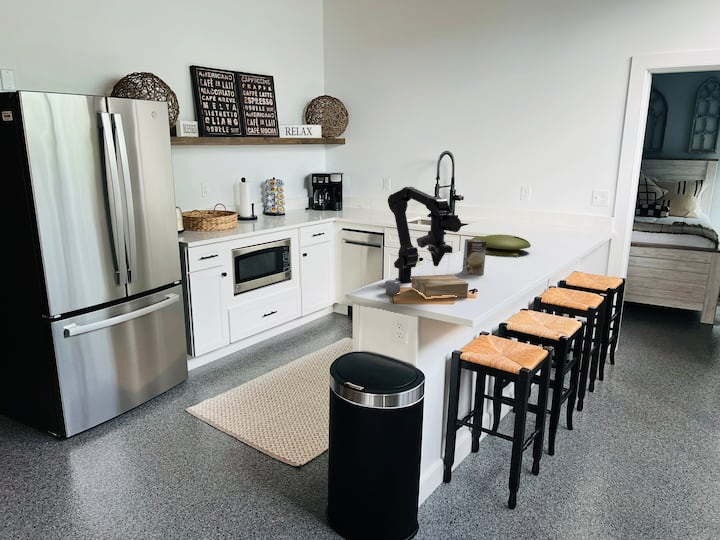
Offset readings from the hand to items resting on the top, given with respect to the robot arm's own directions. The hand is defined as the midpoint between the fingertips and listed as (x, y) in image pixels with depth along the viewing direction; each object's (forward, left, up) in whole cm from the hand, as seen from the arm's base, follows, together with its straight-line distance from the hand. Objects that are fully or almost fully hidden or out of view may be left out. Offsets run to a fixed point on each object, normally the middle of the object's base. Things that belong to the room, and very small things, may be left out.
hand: (435, 266), depth 221 cm
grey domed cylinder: (+2, -19, -10) cm, 22 cm away
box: (+5, 0, -10) cm, 11 cm away
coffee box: (-25, +31, -11) cm, 41 cm away
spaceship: (-74, +73, -11) cm, 104 cm away
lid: (+5, 0, -5) cm, 7 cm away
